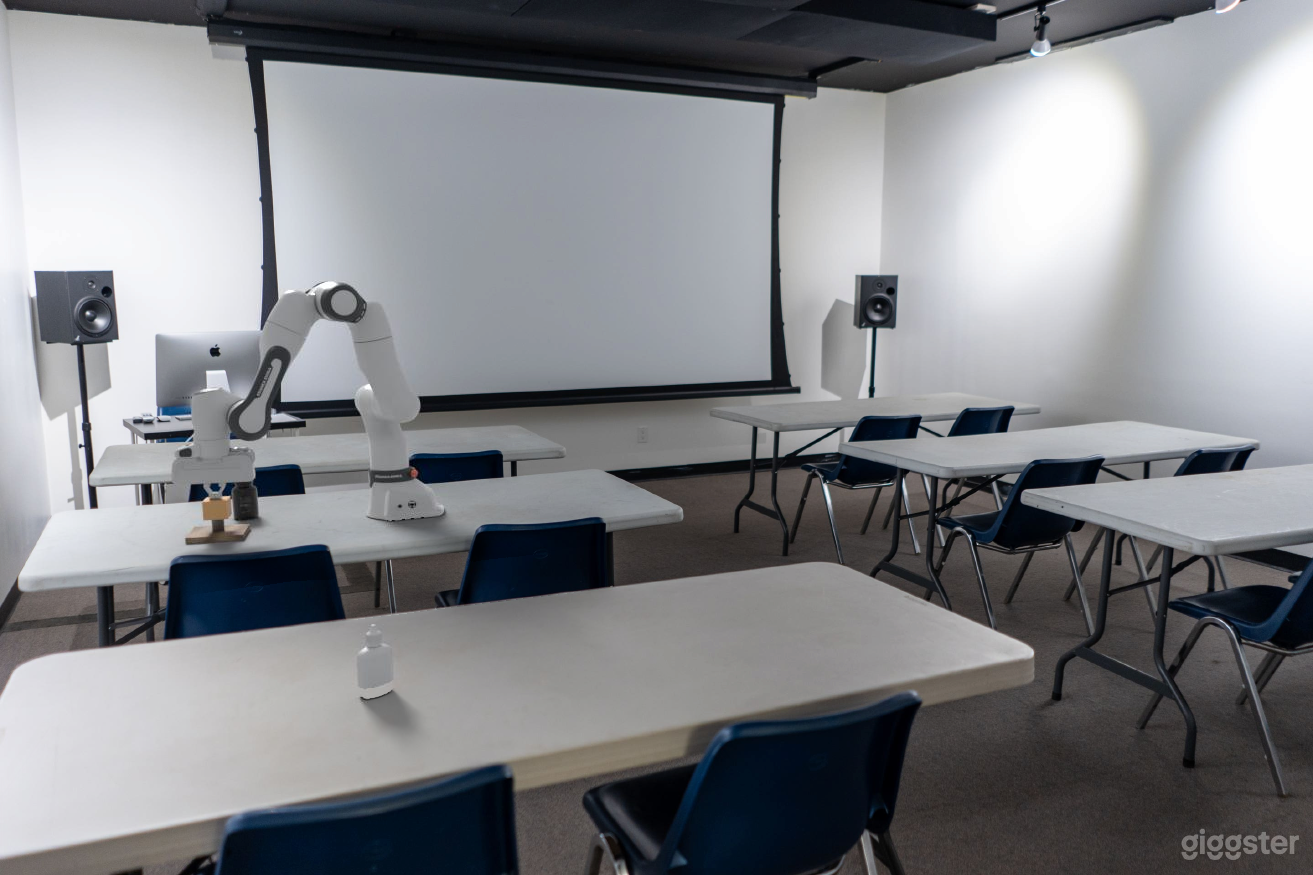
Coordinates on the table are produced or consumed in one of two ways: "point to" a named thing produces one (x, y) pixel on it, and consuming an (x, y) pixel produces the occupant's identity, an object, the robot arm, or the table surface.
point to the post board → (218, 532)
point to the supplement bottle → (245, 501)
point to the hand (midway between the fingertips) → (215, 499)
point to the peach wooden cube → (217, 508)
